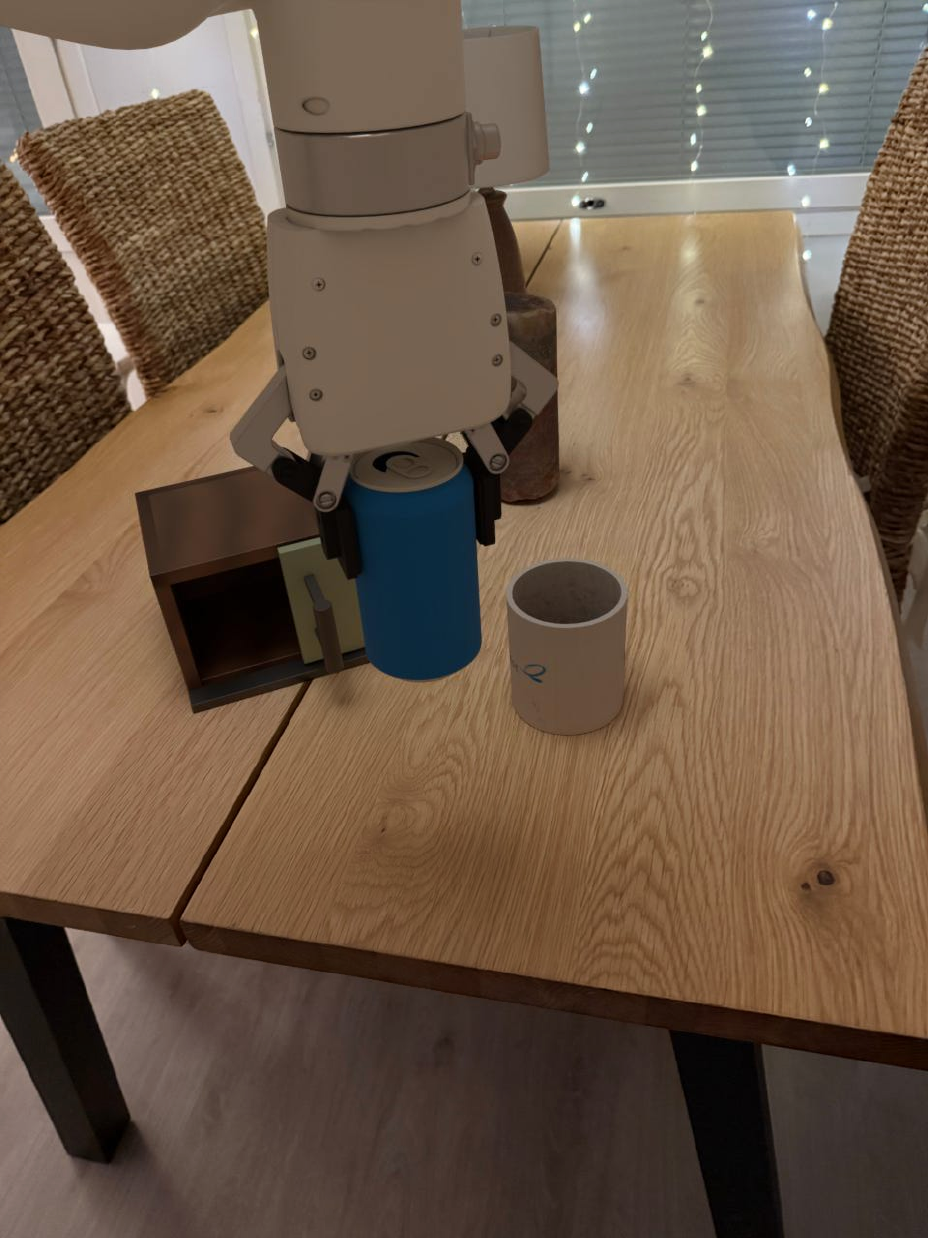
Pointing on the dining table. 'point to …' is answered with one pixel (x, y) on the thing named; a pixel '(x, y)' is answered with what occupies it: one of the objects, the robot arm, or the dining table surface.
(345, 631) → the door
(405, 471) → the beverage can
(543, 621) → the mug
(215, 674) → the cabinet
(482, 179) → the lamp
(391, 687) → the dining table surface
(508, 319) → the candle
